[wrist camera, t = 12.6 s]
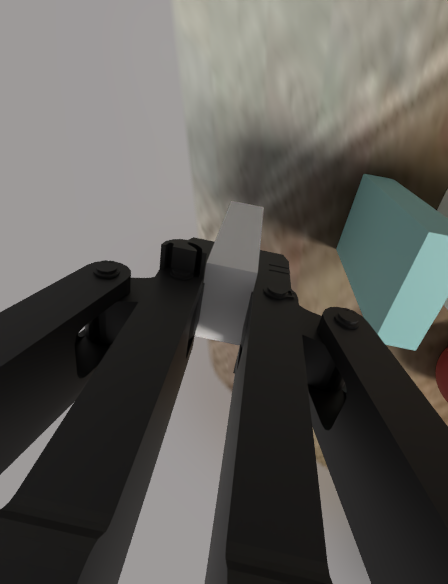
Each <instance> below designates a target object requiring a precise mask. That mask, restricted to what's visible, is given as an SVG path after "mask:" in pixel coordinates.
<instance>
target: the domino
mask: <svg viewBox="0 0 448 584" xmlns="http://www.w3.org/2000/svg"><path fill="white" fill-rule="evenodd" d="M336 250H337V252H338V255H339V257H340V260H341V262H342V265H343V267H344V270H345V272H346V275H347V277H348V280H349V282H350V285H351V287H352V290H353V292H354V295H355V297H356V300H357V302H358V305H359V307H360V310H361V312H362V315H363V317H364V319H366V320H367V321H368V322H369V324H370V325H371V326H372V328H373V329H374V330H375V332H376V333H377V334H378V336H379V337H380V338H381V340H382V341H383V342H384V343H385V345H390V346H395V347H400V348H405V349H410V350H414V351H416V349H417V348H418V346H419V344H420V343H421V341H422V339H423V338H424V336H425V334H426V333H427V331H428V329H429V328H430V326H431V324H432V323H433V321H434V319H435V318H436V316H437V314H438V313H439V311H440V309H441V308H442V306H443V304H444V303H445V301H446V299H447V298H448V218H446V217H445V216H444V215H442V214H441V213H440V212H438V211H437V210H435V209H434V208H433V207H431V206H430V205H428V204H427V203H426V202H424V201H423V200H422V199H420V198H419V197H417V196H416V195H415V194H413V193H412V192H410V191H409V190H408V189H406V188H405V187H404V186H402V185H401V184H399V183H398V182H397V181H395V180H394V179H390V178H384V177H379V176H374V175H369V174H363V177H362V180H361V182H360V185H359V188H358V191H357V193H356V196H355V199H354V202H353V204H352V207H351V210H350V213H349V215H348V218H347V221H346V224H345V227H344V229H343V232H342V235H341V238H340V240H339V243H338V246H337V249H336Z"/></svg>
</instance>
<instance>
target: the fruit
mask: <svg viewBox="0 0 448 584" xmlns="http://www.w3.org/2000/svg"><path fill="white" fill-rule="evenodd" d="M436 381H437V385H438V388H439V390H440V392H441V394H442V395H443V397H444V398H445V400H446V401H447V402H448V347H447V348H446V349H445V350H444V351H443V352H442V353H441V355H440V357H439V359H438V361H437V365H436Z"/></svg>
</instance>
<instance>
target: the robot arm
mask: <svg viewBox="0 0 448 584" xmlns="http://www.w3.org/2000/svg"><path fill="white" fill-rule="evenodd" d="M263 210H264V207H261V206H256V205H251V204H246V203H241V202H236V201H231V203H230V205H229V208H228V210H227V213H226V215H225V218H224V220H223V223H222V225H221V228H220V230H219V233H218V235H217V238H216V240H215V242H213V241H208V240H203V239H198V238H191V239H189V240H183V239H173V240H169V241H165V242H164V243H163V244H162V245H161V258H160V270H159V272H158V273H157V274H156V276H155V277H152V278H131V270H130V269H129V268H128V267H127V266H125V265H123V264H121V263H117V262H114V261H101V262H94V263H91V264H89V265H86V266H84V267H83V268H81V269H79V270H77V271H75V272H74V273H72V274H70V275H68V276H66V277H64V278H63V279H61V280H59V281H57V282H55V283H53V284H52V285H50V286H48V287H46V288H44V289H42V290H40V291H39V292H37V293H35V294H33V295H31V296H30V297H28V298H26V299H24V300H22V301H20V302H18V303H17V304H15V305H13V306H11V307H9V308H7V309H6V310H4V311H2V312H0V474H1V473H2V472H3V471H4V470H5V469H7V468H8V466H10V465H11V464H12V463H13V462H14V461H15V459H17V458H18V457H19V456H20V454H21V453H23V452H24V451H25V450H26V449H27V448H28V447H29V446H30V445H31V444H32V443H33V442H34V441H35V440H36V439H37V438H38V437H39V436H40V435H41V434H42V433H43V432H44V431H45V430H46V429H47V428H48V427H49V426H50V425H51V424H52V423H53V422H54V421H55V420H56V419H57V418H58V417H59V416H60V415H61V414H62V413H63V412H64V411H65V410H66V409H67V408H68V407H69V406H70V405H71V404H73V403H74V404H73V405H72V407H71V408H70V410H69V411H68V413H67V415H66V416H65V418H64V419H63V421H62V422H61V424H60V425H59V427H58V428H57V430H56V432H55V433H54V435H53V436H52V438H51V439H50V441H49V442H48V444H47V446H46V447H45V449H44V450H43V452H42V453H41V455H40V456H39V458H38V460H37V461H36V463H35V464H34V466H33V467H32V469H31V470H30V472H29V474H28V475H27V477H26V478H25V480H24V481H23V483H22V484H21V486H20V488H19V489H18V491H17V492H16V494H15V495H14V496H13V498H12V499H11V500H10V502H9V503H8V504H7V505H6V506H4V507H3V508H2V509H0V584H118V580H119V577H120V574H121V571H122V568H123V565H124V562H125V558H126V555H127V552H128V549H129V546H130V543H131V539H132V536H133V533H134V530H135V527H136V523H137V520H138V517H139V514H140V511H141V508H142V505H143V501H144V498H145V495H146V492H147V489H148V486H149V483H150V480H151V476H152V473H153V470H154V467H155V464H156V461H157V457H158V454H159V451H160V448H161V445H162V442H163V438H164V435H165V432H166V429H167V426H168V423H169V420H170V417H171V413H172V410H173V407H174V404H175V400H176V398H177V394H178V391H179V388H180V385H181V382H182V379H183V376H184V372H185V369H186V366H187V363H188V360H189V356H190V353H191V350H192V346H193V342H194V335H195V331H196V335H195V336H198V337H202V338H207V339H212V340H216V341H221V342H226V343H231V344H235V345H240V348H239V352H238V356H237V360H236V364H235V368H234V372H233V373H235V377H234V384H233V391H232V398H231V405H230V412H229V419H228V426H227V433H226V440H225V447H224V454H223V460H222V468H221V474H220V482H219V488H218V495H217V502H216V509H215V516H214V523H213V530H212V537H211V544H210V551H209V558H208V565H207V572H206V578H205V584H333V583H332V581H331V578H330V575H329V569H328V564H327V556H326V547H325V537H324V528H323V519H322V510H321V501H320V492H319V483H318V474H317V465H316V456H315V447H314V438H313V429H314V432H315V435H316V437H317V440H318V443H319V445H320V448H321V451H322V453H323V456H324V459H325V461H326V464H327V467H328V469H329V472H330V475H331V477H332V480H333V483H334V485H335V488H336V491H337V493H338V496H339V499H340V501H341V504H342V507H343V509H344V512H345V515H346V517H347V520H348V523H349V525H350V528H351V531H352V533H353V536H354V539H355V541H356V544H357V546H358V549H359V552H360V555H361V557H362V560H363V563H364V565H365V568H366V571H367V573H368V576H369V578H370V581H371V584H448V426H447V425H446V424H445V422H444V421H443V420H442V419H441V417H440V416H439V415H438V413H437V412H436V411H435V409H434V408H433V407H432V405H431V404H430V403H429V401H428V400H427V399H426V397H425V396H424V395H423V394H422V392H421V391H420V390H419V388H418V387H417V386H416V384H415V383H414V382H413V380H412V379H411V378H410V376H409V375H408V374H407V372H406V371H405V370H404V368H403V367H402V366H401V365H400V363H399V362H398V361H397V359H396V358H395V357H394V355H393V354H392V353H391V351H390V350H389V349H388V347H387V346H386V345H385V343H384V342H383V341H382V340H381V338H380V337H379V336H378V334H377V333H376V332H375V330H374V329H373V328H372V326H371V325H370V324H369V322H368V321H367V320H366V319H364V318H363V317H362V316H361V315H359V314H357V313H356V312H355V311H352V310H350V309H347V308H340V307H330V308H327V309H325V310H324V312H323V314H322V316H320V315H317V314H315V313H312V312H310V311H308V310H306V309H304V308H303V307H301V306H299V303H298V297H297V295H296V293H295V292H294V291H293V290H292V289H291V282H290V271H289V261H288V260H287V259H286V258H285V257H284V255H281V254H277V253H272V252H267V251H262V250H260V243H261V232H262V221H263ZM84 326H85V329H84V330H83V331H81V332H80V333H79V331H80V330H81V329H82V328H83V327H84ZM240 343H241V344H240ZM312 427H313V429H312Z"/></svg>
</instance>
